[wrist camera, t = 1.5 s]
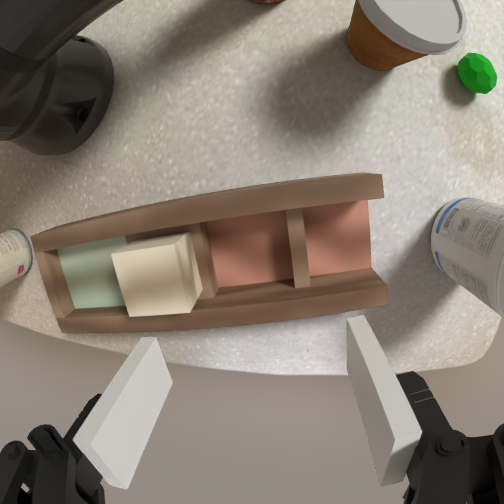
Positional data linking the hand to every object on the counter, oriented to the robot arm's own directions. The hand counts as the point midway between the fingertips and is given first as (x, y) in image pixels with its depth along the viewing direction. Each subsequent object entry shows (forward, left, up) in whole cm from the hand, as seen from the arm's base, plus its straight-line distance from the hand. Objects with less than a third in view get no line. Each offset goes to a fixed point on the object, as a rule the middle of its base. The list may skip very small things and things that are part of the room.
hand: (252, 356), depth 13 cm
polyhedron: (-17, +27, -20) cm, 37 cm away
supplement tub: (+2, +23, -20) cm, 30 cm away
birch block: (0, -9, -16) cm, 19 cm away
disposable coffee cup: (-20, +15, -20) cm, 32 cm away
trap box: (0, -7, -19) cm, 21 cm away
